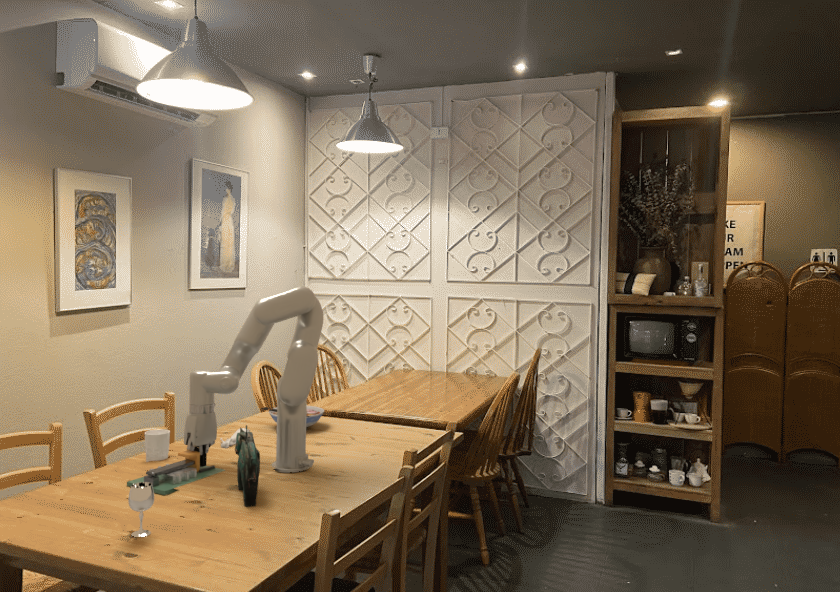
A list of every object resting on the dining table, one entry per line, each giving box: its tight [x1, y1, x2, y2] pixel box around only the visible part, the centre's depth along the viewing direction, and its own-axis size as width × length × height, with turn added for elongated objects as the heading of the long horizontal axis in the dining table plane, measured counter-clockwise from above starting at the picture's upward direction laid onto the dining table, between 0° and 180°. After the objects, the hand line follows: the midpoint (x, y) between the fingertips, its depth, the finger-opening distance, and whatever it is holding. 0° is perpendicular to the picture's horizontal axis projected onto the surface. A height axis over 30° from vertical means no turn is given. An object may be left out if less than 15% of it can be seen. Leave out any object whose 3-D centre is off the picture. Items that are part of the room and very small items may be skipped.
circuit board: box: [126, 465, 226, 496], centre depth 198 cm, size 16×24×2 cm, turn 153°
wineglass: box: [127, 482, 155, 538], centre depth 157 cm, size 6×6×12 cm
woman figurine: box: [219, 427, 251, 449], centre depth 243 cm, size 12×4×18 cm
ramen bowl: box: [260, 405, 325, 428], centre depth 269 cm, size 25×23×8 cm
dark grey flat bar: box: [145, 459, 195, 477], centre depth 196 cm, size 4×16×1 cm, turn 153°
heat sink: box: [143, 463, 197, 487], centre depth 195 cm, size 12×14×2 cm
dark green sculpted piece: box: [234, 424, 261, 508], centre depth 185 cm, size 20×6×20 cm, turn 21°
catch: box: [177, 449, 200, 472], centre depth 202 cm, size 5×4×6 cm
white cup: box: [144, 428, 171, 463], centre depth 217 cm, size 8×8×10 cm
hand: (200, 465), depth 207 cm, fingers closed
